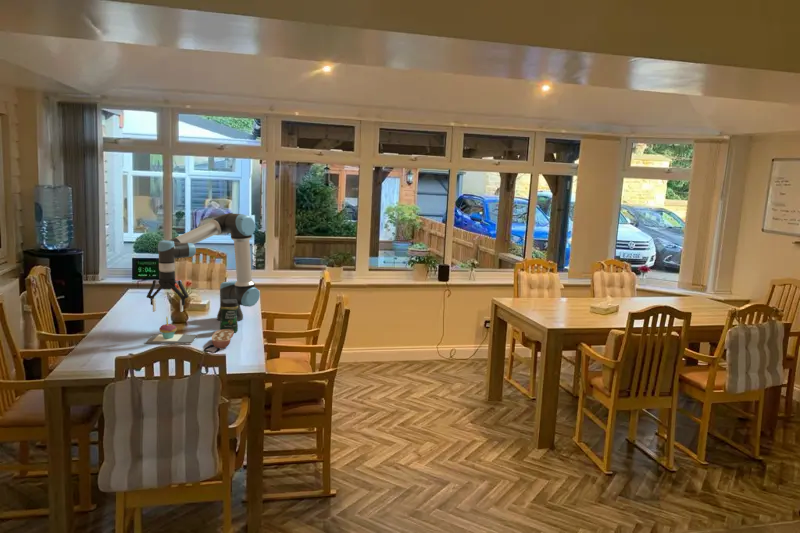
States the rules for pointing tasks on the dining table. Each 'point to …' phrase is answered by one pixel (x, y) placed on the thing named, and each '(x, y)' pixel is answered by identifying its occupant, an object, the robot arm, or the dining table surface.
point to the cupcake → (168, 330)
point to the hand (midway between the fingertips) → (168, 311)
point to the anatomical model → (222, 338)
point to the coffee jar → (229, 314)
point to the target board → (171, 339)
